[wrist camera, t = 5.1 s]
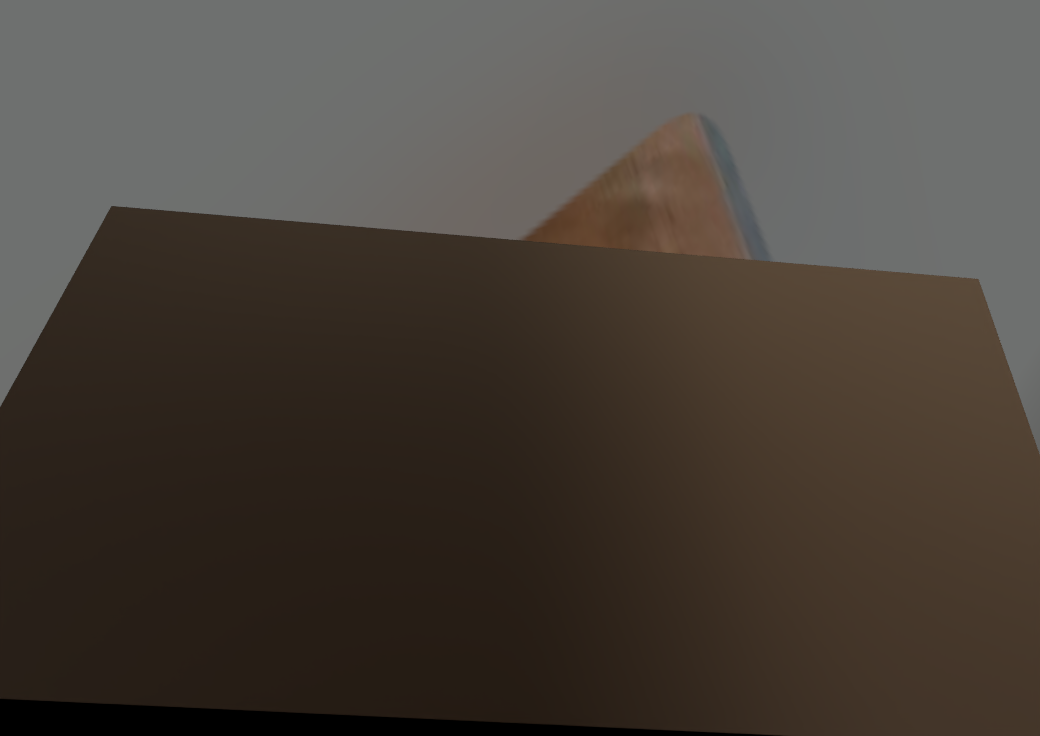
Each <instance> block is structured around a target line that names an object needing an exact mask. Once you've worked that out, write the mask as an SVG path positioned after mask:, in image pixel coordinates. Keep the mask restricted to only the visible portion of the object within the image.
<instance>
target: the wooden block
mask: <svg viewBox="0 0 1040 736" xmlns="http://www.w3.org/2000/svg"><path fill="white" fill-rule="evenodd" d="M0 736H1040V454H1039V451H1038V449H1037V446H1036V443H1035V440H1034V437H1033V435H1032V432H1031V429H1030V426H1029V423H1028V420H1027V417H1026V414H1025V412H1024V408H1023V406H1022V403H1021V400H1020V397H1019V394H1018V392H1017V388H1016V386H1015V383H1014V380H1013V377H1012V374H1011V371H1010V369H1009V366H1008V363H1007V360H1006V357H1005V354H1004V351H1003V348H1002V345H1001V343H1000V340H999V337H998V334H997V331H996V328H995V326H994V322H993V320H992V317H991V314H990V311H989V308H988V305H987V302H986V300H985V297H984V294H983V291H982V288H981V285H980V282H979V280H978V279H971V278H959V277H947V276H934V275H924V274H912V273H900V272H888V271H876V270H864V269H853V268H840V267H829V266H817V265H804V264H793V263H781V262H769V261H757V260H746V259H734V258H722V257H710V256H698V255H686V254H674V253H662V252H651V251H639V250H627V249H615V248H603V247H591V246H579V245H567V244H555V243H544V242H532V241H520V240H508V239H496V238H484V237H472V236H460V235H448V234H436V233H424V232H413V231H401V230H389V229H377V228H365V227H354V226H341V225H329V224H318V223H306V222H294V221H282V220H269V219H258V218H247V217H234V216H222V215H211V214H199V213H187V212H175V211H163V210H152V209H151V210H150V209H140V208H128V207H116V206H112V207H111V208H110V210H109V212H108V214H107V215H106V217H105V219H104V221H103V223H102V225H101V226H100V228H99V230H98V232H97V233H96V235H95V237H94V239H93V241H92V242H91V244H90V246H89V248H88V250H87V251H86V253H85V255H84V257H83V259H82V260H81V262H80V264H79V266H78V268H77V270H76V271H75V273H74V275H73V277H72V279H71V281H70V282H69V284H68V286H67V288H66V289H65V291H64V293H63V295H62V297H61V298H60V300H59V302H58V304H57V306H56V308H55V309H54V311H53V313H52V315H51V317H50V318H49V320H48V322H47V324H46V326H45V328H44V329H43V331H42V333H41V335H40V336H39V338H38V340H37V342H36V344H35V346H34V347H33V349H32V351H31V353H30V354H29V357H28V358H27V360H26V362H25V364H24V365H23V367H22V369H21V371H20V373H19V375H18V376H17V378H16V380H15V381H14V383H13V385H12V387H11V389H10V390H9V392H8V394H7V396H6V398H5V400H4V401H3V403H2V405H1V407H0Z"/></svg>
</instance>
